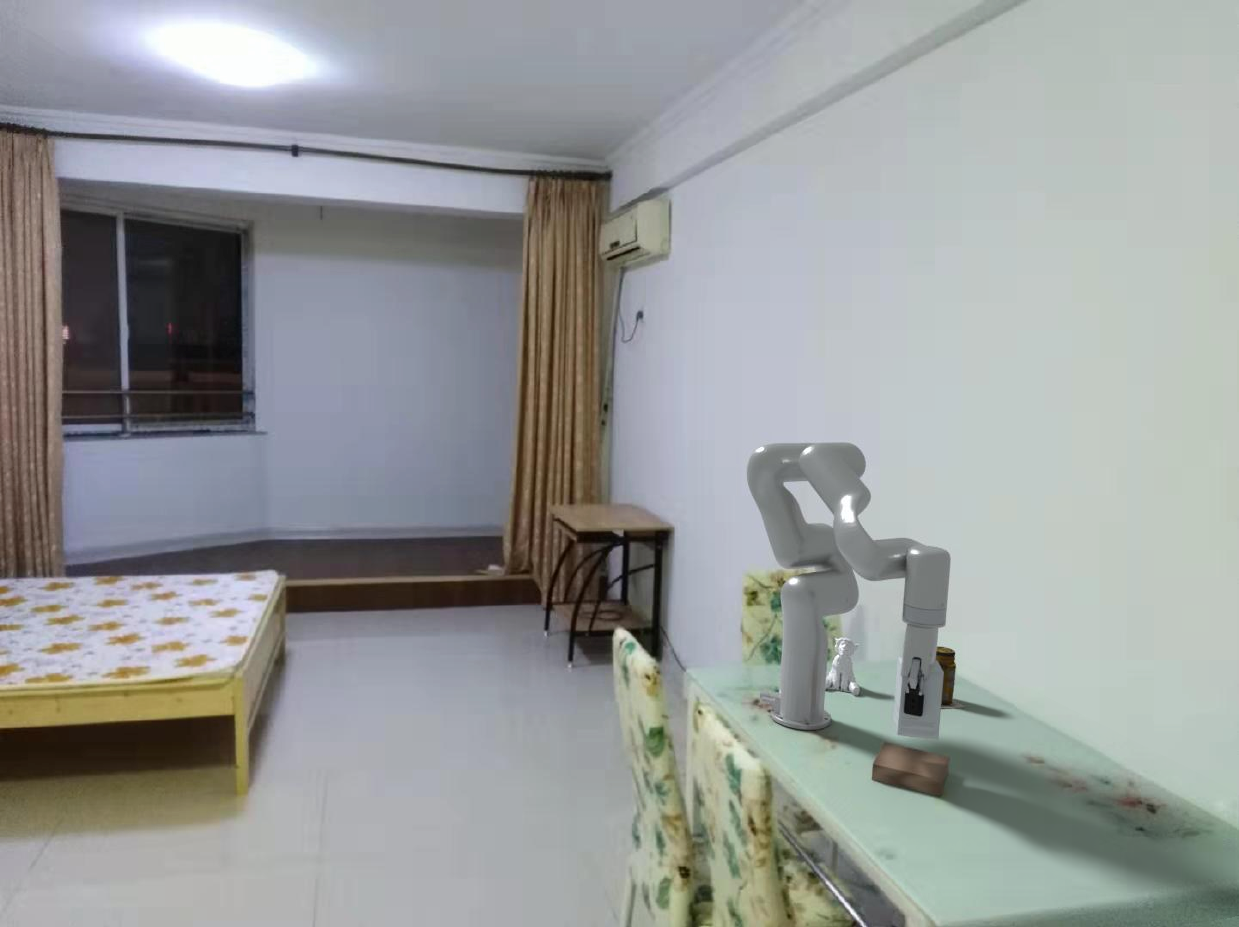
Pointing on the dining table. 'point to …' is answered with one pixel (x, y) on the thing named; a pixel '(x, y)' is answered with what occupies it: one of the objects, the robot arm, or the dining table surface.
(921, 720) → the supplement box
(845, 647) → the sitting furry creature
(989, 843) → the dining table surface
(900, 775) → the walnut base
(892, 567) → the robot arm
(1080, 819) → the dining table surface
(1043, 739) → the dining table surface
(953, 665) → the condiment
